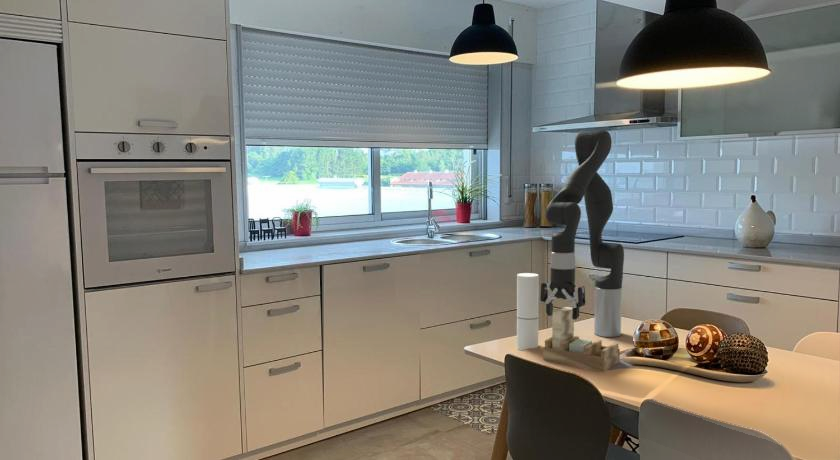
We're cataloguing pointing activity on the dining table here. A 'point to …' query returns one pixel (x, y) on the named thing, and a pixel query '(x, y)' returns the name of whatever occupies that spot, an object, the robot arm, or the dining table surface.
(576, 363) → the rack
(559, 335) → the beige mottled rectangular block
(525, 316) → the cylindrical container
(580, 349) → the offcut upper
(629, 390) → the dining table surface
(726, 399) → the dining table surface
